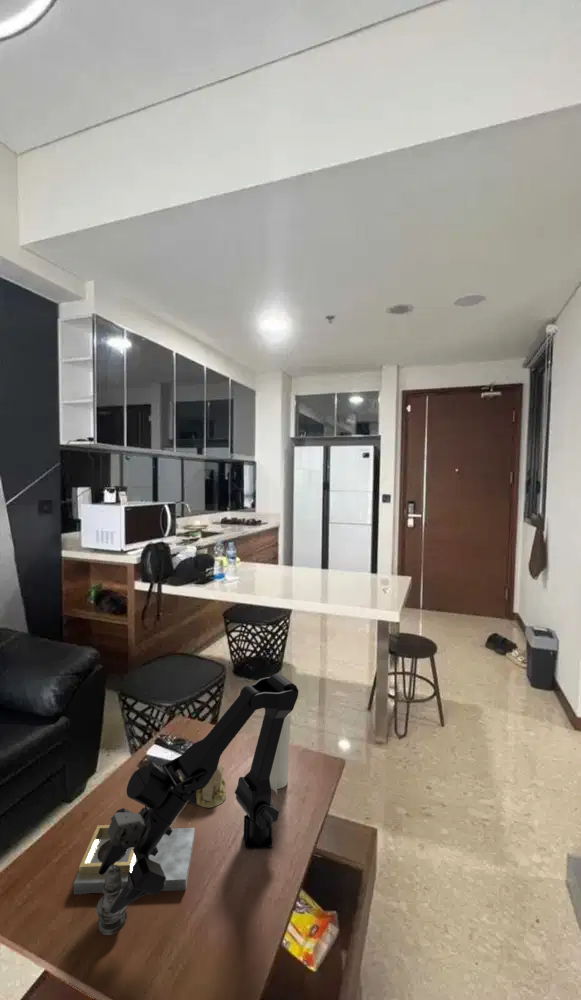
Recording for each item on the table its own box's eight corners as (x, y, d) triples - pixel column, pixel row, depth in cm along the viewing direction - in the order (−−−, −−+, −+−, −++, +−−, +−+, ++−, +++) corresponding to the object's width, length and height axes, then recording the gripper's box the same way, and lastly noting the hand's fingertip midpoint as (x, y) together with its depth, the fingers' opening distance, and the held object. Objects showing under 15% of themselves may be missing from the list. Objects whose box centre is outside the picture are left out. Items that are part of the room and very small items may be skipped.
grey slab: (194, 837, 104) (195, 822, 104) (185, 890, 91) (186, 872, 91) (97, 840, 102) (97, 824, 102) (73, 894, 89) (73, 876, 89)
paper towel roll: (275, 771, 128) (278, 702, 126) (292, 780, 124) (294, 709, 122) (260, 785, 122) (262, 713, 120) (276, 795, 118) (279, 721, 117)
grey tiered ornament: (117, 940, 81) (117, 881, 80) (89, 932, 82) (89, 874, 81) (134, 909, 87) (135, 854, 86) (108, 902, 88) (108, 847, 87)
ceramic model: (230, 779, 124) (231, 746, 123) (223, 810, 113) (224, 774, 112) (182, 776, 124) (183, 743, 124) (170, 806, 113) (170, 770, 112)
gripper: (121, 771, 93) (64, 844, 87) (150, 832, 78) (83, 925, 72) (157, 790, 98) (105, 860, 92) (190, 851, 83) (131, 939, 77)
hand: (105, 892), depth 83 cm, fingers open, 9 cm apart
